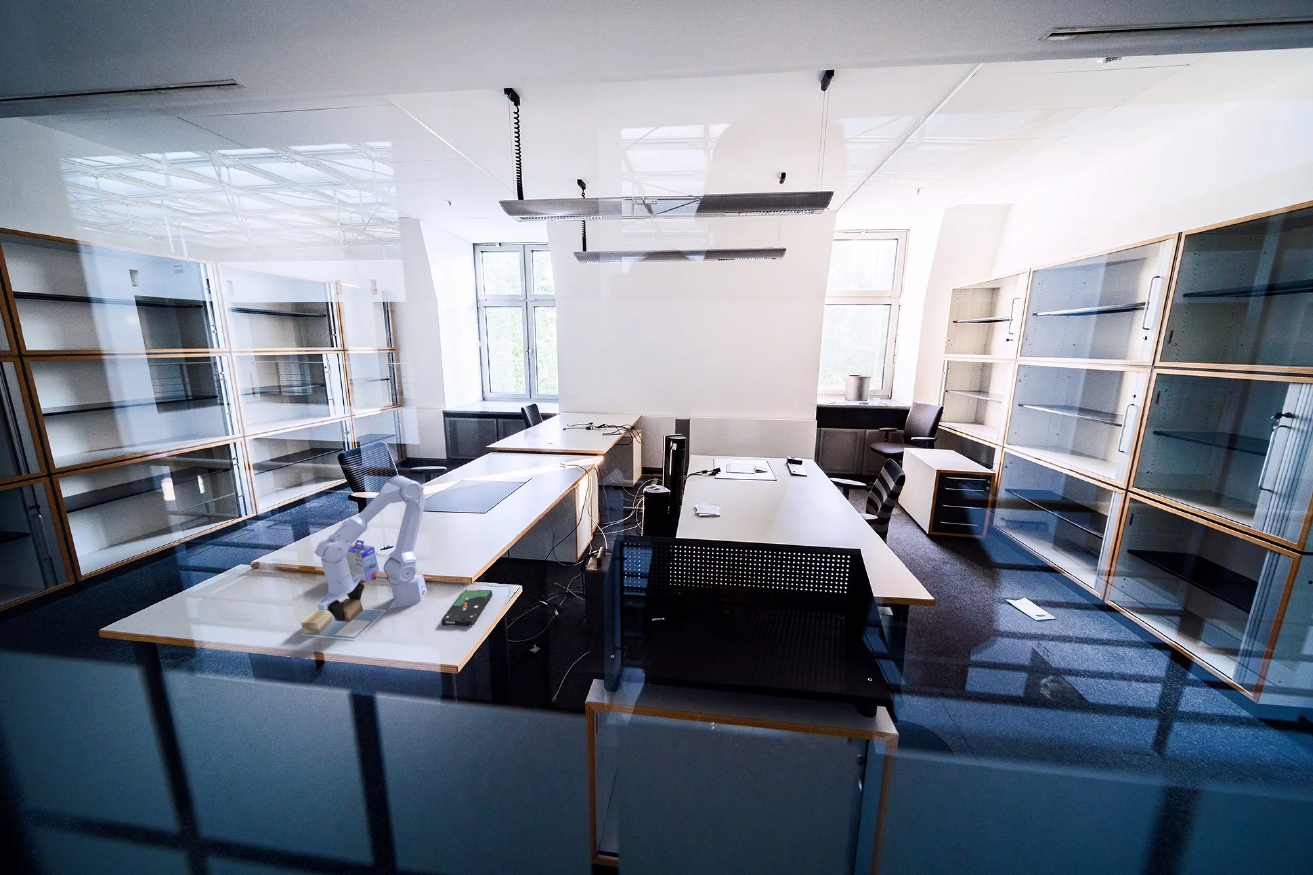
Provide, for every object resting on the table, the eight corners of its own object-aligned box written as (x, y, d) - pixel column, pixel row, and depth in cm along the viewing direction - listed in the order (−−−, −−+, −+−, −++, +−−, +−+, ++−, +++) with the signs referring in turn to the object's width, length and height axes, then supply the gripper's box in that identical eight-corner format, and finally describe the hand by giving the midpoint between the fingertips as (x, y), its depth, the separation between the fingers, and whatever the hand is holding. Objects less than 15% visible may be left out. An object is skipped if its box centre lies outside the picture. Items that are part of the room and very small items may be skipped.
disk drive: (473, 628, 126) (493, 595, 140) (472, 621, 125) (492, 589, 139) (441, 627, 126) (464, 595, 140) (440, 620, 125) (463, 588, 139)
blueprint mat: (387, 611, 132) (386, 609, 131) (354, 642, 119) (354, 640, 119) (338, 607, 134) (337, 605, 133) (301, 636, 121) (300, 635, 121)
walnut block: (363, 610, 125) (360, 599, 123) (349, 622, 120) (346, 611, 119) (348, 609, 125) (345, 598, 124) (334, 620, 120) (331, 609, 119)
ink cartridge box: (381, 574, 151) (373, 540, 146) (367, 583, 146) (359, 549, 141) (361, 569, 153) (353, 536, 149) (347, 578, 148) (338, 544, 144)
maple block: (333, 621, 127) (330, 611, 125) (319, 633, 122) (316, 623, 121) (317, 620, 127) (314, 610, 125) (304, 632, 122) (300, 622, 121)
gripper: (347, 560, 125) (356, 596, 129) (303, 591, 112) (315, 629, 116) (367, 562, 125) (376, 598, 129) (326, 593, 111) (337, 632, 115)
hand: (348, 613), depth 122 cm, fingers closed on walnut block, 5 cm apart
